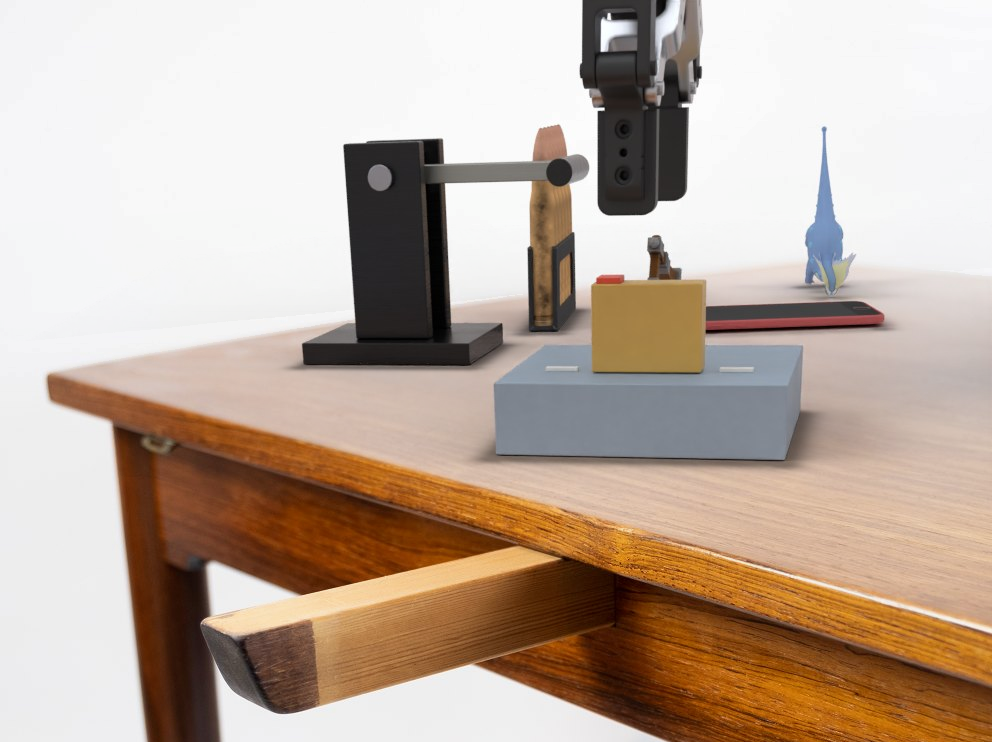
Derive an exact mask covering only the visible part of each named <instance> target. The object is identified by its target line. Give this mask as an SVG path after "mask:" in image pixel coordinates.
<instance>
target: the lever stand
mask: <svg viewBox="0 0 992 742" xmlns="http://www.w3.org/2000/svg"><path fill="white" fill-rule="evenodd" d="M342 148H343V165H344V177H345V180H344V181H345V192H346V194H345V195H346V208H347V221H348V236H349V237H348V238H349V250H350V251H349V252H350V267H351V280H352V281H351V283H352V296H353V297H352V298H353V309H354V322H348V323H345V324H343V325H341V326H338V327H336V328H334V329H332V330H331V329H330V330H329V331H327V332H325V333H323V334H320V335H318V336H316V337H313V338H311V339H308V340H307V341H304V342H302V343H301V350H302V362H303V363H302V364H303V365H373V366H374V365H375V366H376V365H377V366H378V365H387V366H388V365H389V366H391V365H392V366H393V365H398V366H399V365H401V366H403V365H406V366H407V365H410V366H413V365H414V366H415V365H416V366H471V364H473V363H474V362H476V361H478V360H479V359H481V358H482V357H484V356H485V355H487V354H489V352H491V351H492V350H494V349H496V348H497V347H499V346H500V345H501V344H503V343H504V327H503V326H504V324H503V322H452V310H451V309H452V307H451V290H450V289H451V287H450V286H451V285H450V284H451V283H450V266H449V265H450V264H449V262H450V261H449V241H448V239H449V238H448V219H447V218H448V217H447V198H446V196H447V195H446V194H447V193H446V183H440V184H425V167H424V164H445V152H444V139H443V138H442V137H438V138H437V137H436V138H412V139H410V138H409V139H407V138H406V139H379V140H378V139H377V140H367V141H365V142H350V143H343V146H342Z"/></svg>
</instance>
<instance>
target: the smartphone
mask: <svg viewBox="0 0 992 742" xmlns="http://www.w3.org/2000/svg"><path fill="white" fill-rule="evenodd" d="M884 321H885V313H884V312H882V311H880V310H878V309H877V308H876V307H874V306H872V305H870V304H869V303H866V302H865V301H859V300H840V301H839V300H838V301H836V300H835V301H812V302H811V301H810V302H781V303H759V304H757V303H756V304H731V305H730V304H728V305H706V328H705V331H714V330H716V331H717V330H718V331H719V330H741V329H743V330H745V329H746V330H747V329H772V328H774V329H775V328H800V327H826V326H829V327H830V326H852V325H853V326H854V325H855V326H857V325H875V324H876V325H877V324H882V323H884Z"/></svg>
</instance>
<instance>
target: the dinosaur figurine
mask: <svg viewBox="0 0 992 742" xmlns="http://www.w3.org/2000/svg"><path fill="white" fill-rule="evenodd" d="M827 130H828V128H827V126H822V127H821V132H822V149H821V152H822V153H821V165H820V173H819V174H820V175H819V184H818V191H817V192H818V193H817V201H816V205H815V206H816V211H815V215H814V222H813V223H812V224H811V225H809V227H808V228H807V230H806V233H805V236H804V237H805V240H804V244H805V247H806V248H807V251H806V252H807V262H806V266H805V277H804V278H805V279H804V283H805V285H807V286H811V285H812V284H815V280H814V277H815V278H816V279H817V280H819V281H820V282H821V283H823V284H824V292H825V293H826V295H827V296H828V297H829V298H834V296H835V295H836V294H837V292H838V291H839V288H840V287H841V286H842V285H843V283H845V281H846V279H847V278H848V276H849V273H850V267H851V265H852V263H853V261H854V260H855V258H856V256H857V253H855V254H854V252H851V254H849V255H848V256H847V257H843V253H844V243H843V240H844V230H843V227H842V226H841V224H839V223H838V221H837V220H836V215H835V210H834V203H833V194H832V189H831V180H830V171H829V165H828V154H827Z"/></svg>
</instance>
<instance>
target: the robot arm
mask: <svg viewBox="0 0 992 742" xmlns="http://www.w3.org/2000/svg"><path fill="white" fill-rule="evenodd" d="M702 7H703V6H702V0H581V63H580V64H579V78H580V79H581V81H582V86H583V89H584V90H588V96H589V98H590V99H591V105H592V108H593V109H602V110H597V111H596V112H597V115H596V117H597V119H596V120H597V125H596V126H597V143H596V144H597V149H596V150H597V151H596V152H597V153H596V154H597V156H596V157H597V159H596V160H597V164H596V165H597V167H596V168H597V182H596V183H597V185H596V187H597V189H596V191H597V193H596V194H597V197H596V198H597V199H596V200H597V207H598V210H599V212H601V213H602V214H603V215H605V216H608V217H609V216H612V217H615V216H619V217H621V216H622V217H624V216H625V217H626V216H646V215H648V214H650V213H653V212H654V211H655V209H656V208H657V206H658V203H659V202H676V201H679V200H681V199H682V198H683V197H685V195H686V194H687V192H688V174H689V173H688V172H689V171H688V168H689V167H688V165H689V128H690V127H689V126H690V125H689V123H690V121H689V119H690V107H689V106H683V105H688V104H689V105H690V104H693V102H694V96H695V95H697V89H698V88H699V84H700V80H701V79H702V77H703V66H702V65H701V46H702V39H703V34H704V24H703V23H704V22H703V8H702ZM609 14H610V19H608V17H609ZM603 108H604V109H603Z"/></svg>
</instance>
